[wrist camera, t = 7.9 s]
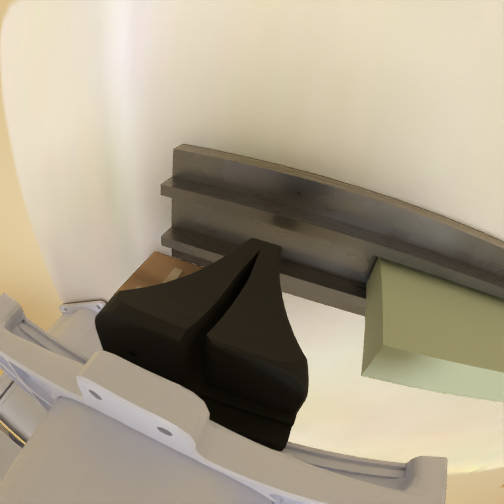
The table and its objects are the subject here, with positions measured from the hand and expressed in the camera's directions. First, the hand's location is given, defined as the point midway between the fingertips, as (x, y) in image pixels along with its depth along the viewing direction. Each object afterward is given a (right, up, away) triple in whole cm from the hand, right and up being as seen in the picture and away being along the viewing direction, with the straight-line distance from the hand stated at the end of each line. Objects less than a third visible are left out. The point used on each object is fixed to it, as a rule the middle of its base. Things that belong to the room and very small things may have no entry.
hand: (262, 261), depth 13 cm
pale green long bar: (+12, -3, +1) cm, 13 cm away
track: (+8, 0, +3) cm, 8 cm away
